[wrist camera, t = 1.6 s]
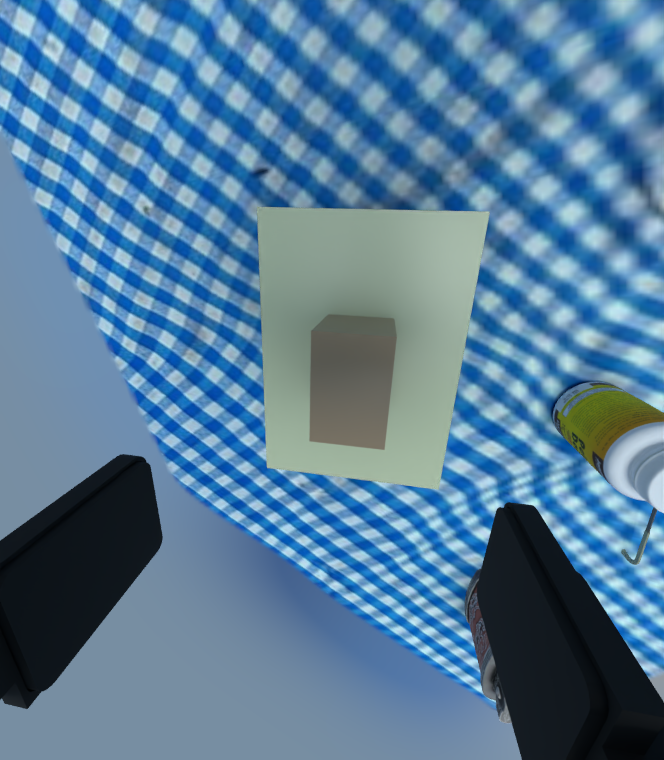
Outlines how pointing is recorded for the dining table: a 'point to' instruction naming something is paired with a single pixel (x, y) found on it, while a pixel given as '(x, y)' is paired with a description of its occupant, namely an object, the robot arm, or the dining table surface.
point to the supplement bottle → (616, 438)
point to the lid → (364, 337)
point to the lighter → (484, 651)
